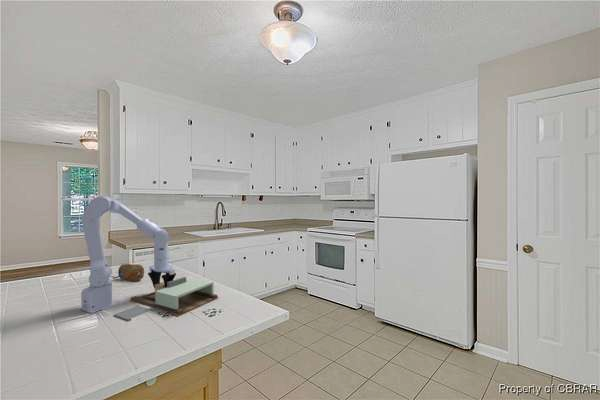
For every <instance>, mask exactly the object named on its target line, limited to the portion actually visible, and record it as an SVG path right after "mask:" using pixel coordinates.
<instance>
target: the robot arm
mask: <svg viewBox="0 0 600 400" xmlns="http://www.w3.org/2000/svg"><path fill="white" fill-rule="evenodd" d="M107 212H109V213H113V214H119V215H121V216H122V217H124V218H126V219H127V220H128V221H130V222H132V223H133V224H134V225H136V229H137V230H138V231H139V232H140V233H142V234H144V235H145V236H147V237H148V238H150V239H153V242H154V247H153V265H150V266H148V268H149V272H147V275H148V277H149V279H150V280H151V283H152V286H153V288H154V289H155V284H158V283H161V279H162V280H163V281H162V282H164V286H165V288H166V287H167V282H170V281H173V280H175V277H176V275H177V273H176V271H175V270H176V269H175V268H172V266H171V265H170V253H169V251H170V250H169V249H170V248H169V240H170V236H169V234H168V232H167V231H166V230H165V229H163V227H162V226H158V225H157V223H156V224H155V223H154V220H153V219H151V218H150V219H149V218H146V217H145V218H142V217H140V215H138V214H136V213H135V212H134V211H133V210H131V209H130V208H128V207H127V206H126V205H124V204H123V203H121V201H118V200H116V199H113V197H111V196H109V195H98V196H95V197H94V198H92V199H91V200H90V201H89V202H88V203H87V206H86V208H85V210H84V212H83V214H82V215H81V224H82V229H83V233H84V234H83V235H84V239H85V243H86V247H87V253H88V257H89V263H90V264H89V272H90V274H89V276H88V281H89V286H88V287H86V288H83V289H82V290H81V294H80V295H81V299H80V300H81V303H80V304H81V308H80V311H81V310H82V311H84V312H87V313H89V314H93V313H96V312H99V311H102V310H103V309H105V308H106V309H107V308H108V307H111V306H115V305H118V302H115V301H113V281H112V280H111V279H110V277H111V276H112V268H111V267H110V266H109V265H108V261H107V259H106V256H105V251H104V245H103V242H102V236H101V235H102V234H101V231H100V227H99V226H100V224H99V221H98V220H99V219H101V217H102V216H103V215H104V214H105V213H107ZM162 274H163V275H162Z"/></svg>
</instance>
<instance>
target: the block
mask: <svg viewBox="0 0 600 400" xmlns="http://www.w3.org/2000/svg"><path fill="white" fill-rule="evenodd" d="M163 288H165V286H164V281H162V282H161V281H160V283H158V284H155V288H154V292H155V291H157V290H160V289H163Z"/></svg>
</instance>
